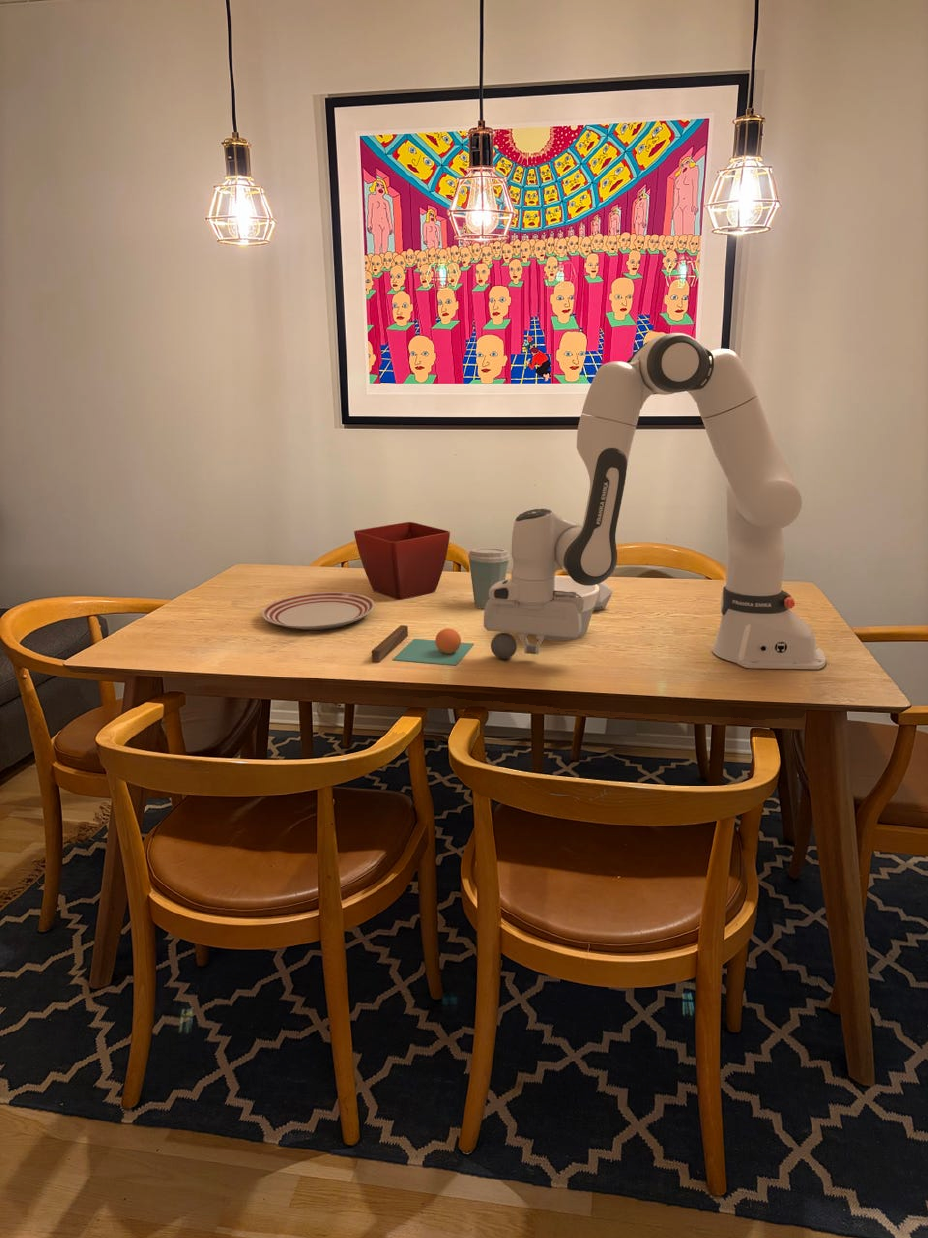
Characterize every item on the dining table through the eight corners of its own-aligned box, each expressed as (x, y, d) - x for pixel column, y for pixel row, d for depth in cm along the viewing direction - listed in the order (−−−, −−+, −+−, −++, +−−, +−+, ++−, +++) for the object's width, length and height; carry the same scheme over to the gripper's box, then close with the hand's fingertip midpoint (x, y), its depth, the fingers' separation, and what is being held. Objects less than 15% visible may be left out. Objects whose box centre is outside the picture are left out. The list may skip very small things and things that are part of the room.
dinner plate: (309, 645, 188) (308, 631, 187) (240, 621, 206) (238, 608, 205) (398, 617, 207) (398, 604, 206) (328, 597, 225) (327, 585, 224)
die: (568, 610, 213) (577, 587, 205) (579, 587, 218) (588, 563, 210) (598, 623, 212) (609, 600, 204) (608, 600, 217) (619, 576, 209)
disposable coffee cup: (466, 600, 220) (466, 544, 215) (507, 599, 220) (507, 543, 216) (469, 612, 210) (469, 553, 205) (512, 611, 210) (513, 552, 206)
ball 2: (495, 627, 179) (492, 651, 181) (489, 635, 174) (486, 660, 176) (520, 631, 178) (517, 656, 180) (515, 639, 173) (512, 664, 175)
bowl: (596, 646, 184) (598, 599, 181) (509, 642, 188) (510, 596, 185) (598, 620, 203) (600, 577, 199) (519, 617, 206) (519, 574, 203)
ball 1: (449, 620, 182) (434, 637, 184) (442, 627, 177) (427, 645, 179) (468, 636, 182) (453, 654, 184) (461, 644, 177) (446, 662, 179)
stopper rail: (407, 636, 193) (407, 625, 192) (379, 662, 176) (378, 651, 175) (401, 635, 193) (400, 625, 192) (372, 661, 176) (371, 650, 176)
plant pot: (394, 605, 216) (392, 541, 211) (355, 591, 231) (352, 530, 226) (453, 592, 228) (452, 531, 223) (411, 579, 242) (410, 521, 237)
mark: (473, 644, 186) (473, 643, 186) (456, 665, 174) (456, 664, 174) (414, 639, 190) (414, 638, 190) (392, 660, 177) (392, 659, 177)
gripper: (585, 588, 172) (583, 652, 176) (488, 582, 177) (488, 644, 181) (581, 596, 166) (579, 662, 170) (481, 590, 171) (481, 654, 175)
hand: (531, 653), depth 176 cm, fingers closed
